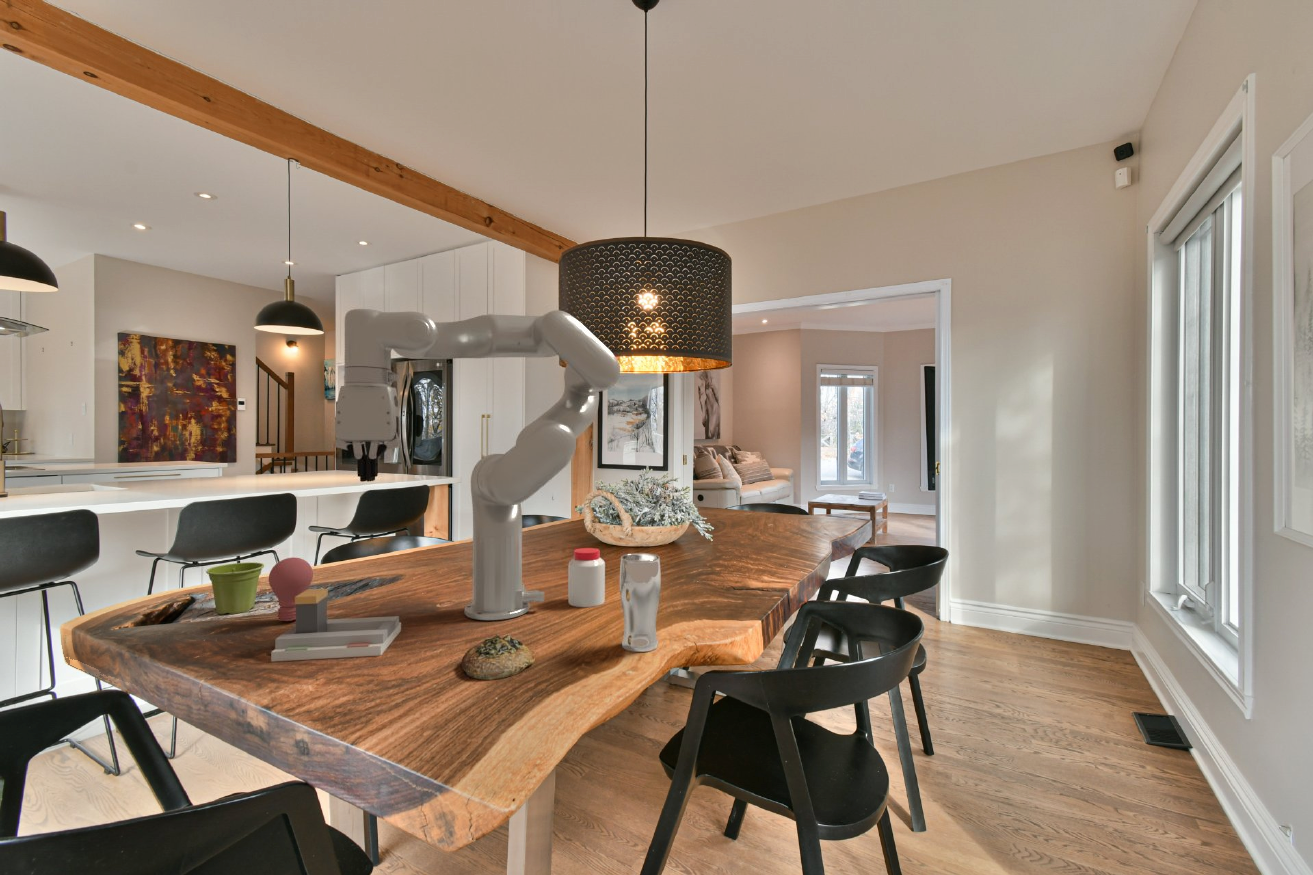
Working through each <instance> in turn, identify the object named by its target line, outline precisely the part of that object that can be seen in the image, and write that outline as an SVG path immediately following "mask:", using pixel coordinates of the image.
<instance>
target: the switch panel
mask: <svg viewBox="0 0 1313 875" xmlns="http://www.w3.org/2000/svg"><path fill="white" fill-rule="evenodd" d="M401 631H402V622H400V616H399V615H397V616H392V615H391V616H376V617H375V616H374V617H373V616H372V617H371V616H370V617H355V618H353V617H351V618H335V619H334V618H331V619H328V618H327V632H319V633H299V634H296V624H295V625H294V626H292V627H291V628H289V629H288V630H287V631H285V632H284V633H282V634H281V635H279V636H278V637H276V639H275V640H274V641H275V645H274V647H275V648H274V649H273V650H272V651H271V652H270V654H271V657H270V658H271V659H270V660H271V662H288V661H302V660H303V661H305V660H306V661H307V660H321V659H322V660H323V659H341V658H357V657H361V658H362V657H374V656H375V657H376V656H377V657H379V656H382V655H383V653H384V652H385V651H386V650H387V649H388V647H390V645H391V643H392V642H394V640H395V638H397V636H398V635H399V634H400V632H401Z"/></svg>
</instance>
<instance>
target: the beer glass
mask: <svg viewBox="0 0 1313 875" xmlns="http://www.w3.org/2000/svg"><path fill="white" fill-rule="evenodd" d="M660 562H661V559H660V555H658V554H654V553H648V552H647V553H646V552H634V553H627V554H626V553H625V554H623V555H621V556H620V564H619V565H620V568H619V595H620V603H621V607H622V608H621V609H622V613H623V621H624V622H623V623H624V624H623V625H624V629H623V630H624V631H623V637H622V642H621V646H622V648H623V650H626V651H627V652H632V653H645V652H646V653H648V652H651V651H654V650H656V649H657V648H658V647H659V643H658V635H657V630H656V624H657V623H656V622H657V615H658V609H659V602H660V597H661V588H662V586H661V585H662V580H661V578H662V576H661V574H662V573H661V563H660Z"/></svg>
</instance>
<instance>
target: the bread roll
mask: <svg viewBox="0 0 1313 875" xmlns="http://www.w3.org/2000/svg"><path fill="white" fill-rule="evenodd" d="M535 660H536V656H535V655H534V653H533V652H532V651H531V650H530V648H529V647H528V646H526V645H525V644H524V643H523V642H522V641H521V640H519V639H517V638H513V637H512V636H511V635H508V634H507V635H505V636H504V637H501V636H500V634H496V635H495V636H493V637H492V638H490V637H486V638H485V639H484V640H482V641H480V642H479V643H477V644H475V645H473V646H472V647H471V648H469V649H468V650H467V651H466V652H465V653H464V655H463V656H462V659H461V667H462V671H463V673H466V676H468V677H470V678H472V679H475V680H486V681H492V680H497V679H502V678H508V677H511V676H516V675H518V674H519V673H521V672H523V671H524V670H525V669H526V668H528V667H530V666H531V665H532V664H533V663H534V662H535Z"/></svg>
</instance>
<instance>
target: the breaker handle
mask: <svg viewBox="0 0 1313 875" xmlns="http://www.w3.org/2000/svg"><path fill="white" fill-rule="evenodd" d="M328 596H329V588H308V589H307V590H306V591H304V592H302V593H301V594H299V595H297V596H296V597H295V604H296V619H295V625H296V634H299V633H319V632H327V619H328Z"/></svg>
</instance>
